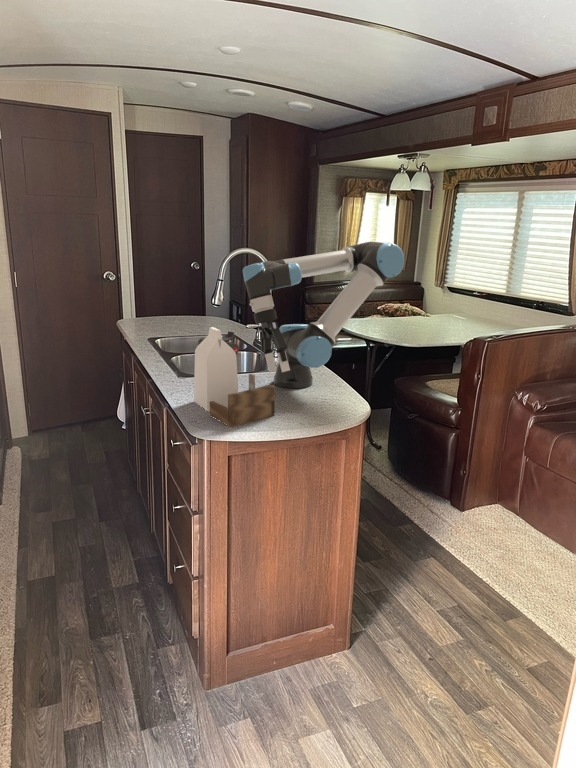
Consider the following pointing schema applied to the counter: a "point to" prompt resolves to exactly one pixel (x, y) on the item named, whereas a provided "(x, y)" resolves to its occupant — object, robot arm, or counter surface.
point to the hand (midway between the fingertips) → (279, 371)
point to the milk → (214, 371)
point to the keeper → (246, 405)
